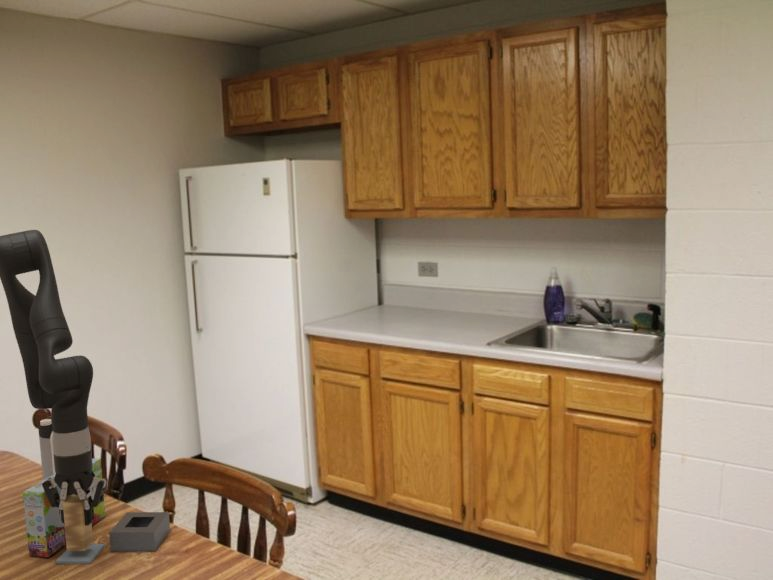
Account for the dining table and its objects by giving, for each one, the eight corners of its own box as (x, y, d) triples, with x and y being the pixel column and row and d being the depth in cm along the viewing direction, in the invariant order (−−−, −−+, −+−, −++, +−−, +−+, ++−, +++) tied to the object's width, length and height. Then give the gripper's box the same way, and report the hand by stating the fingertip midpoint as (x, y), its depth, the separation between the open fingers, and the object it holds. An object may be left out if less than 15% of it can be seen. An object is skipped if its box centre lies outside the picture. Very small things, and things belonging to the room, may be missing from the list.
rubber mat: (72, 546, 161) (71, 544, 161) (104, 546, 161) (104, 544, 161) (56, 563, 154) (55, 561, 154) (90, 563, 154) (90, 561, 153)
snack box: (50, 558, 156) (42, 492, 154) (28, 557, 157) (20, 491, 155) (107, 515, 176) (101, 456, 174) (87, 514, 177) (80, 456, 176)
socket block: (128, 530, 169) (126, 512, 168) (170, 530, 168) (168, 512, 168) (110, 551, 159) (109, 532, 158) (155, 551, 158) (154, 532, 158)
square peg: (66, 551, 155) (62, 502, 153) (75, 542, 159) (71, 495, 157) (85, 550, 155) (81, 502, 153) (93, 542, 159) (89, 494, 157)
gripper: (30, 455, 150) (37, 532, 153) (97, 454, 150) (103, 531, 152) (48, 443, 158) (54, 516, 160) (111, 442, 157) (117, 516, 160)
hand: (78, 523), depth 156 cm, fingers closed on square peg, 4 cm apart
